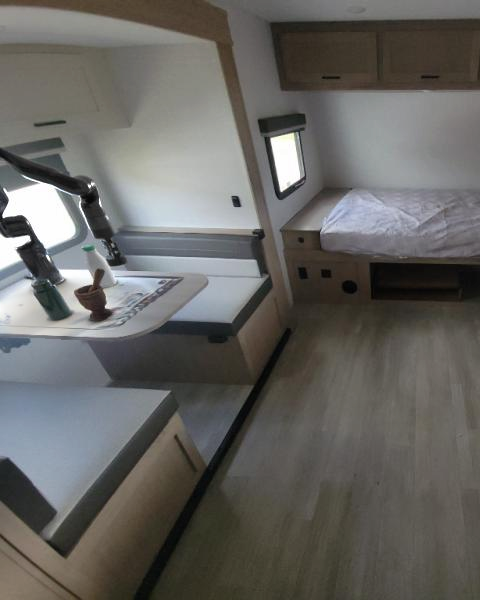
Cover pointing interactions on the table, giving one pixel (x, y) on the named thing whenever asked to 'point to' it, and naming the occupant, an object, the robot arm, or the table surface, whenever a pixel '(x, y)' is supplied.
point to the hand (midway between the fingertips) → (117, 261)
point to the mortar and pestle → (94, 297)
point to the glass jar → (50, 299)
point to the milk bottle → (98, 265)
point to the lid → (113, 263)
